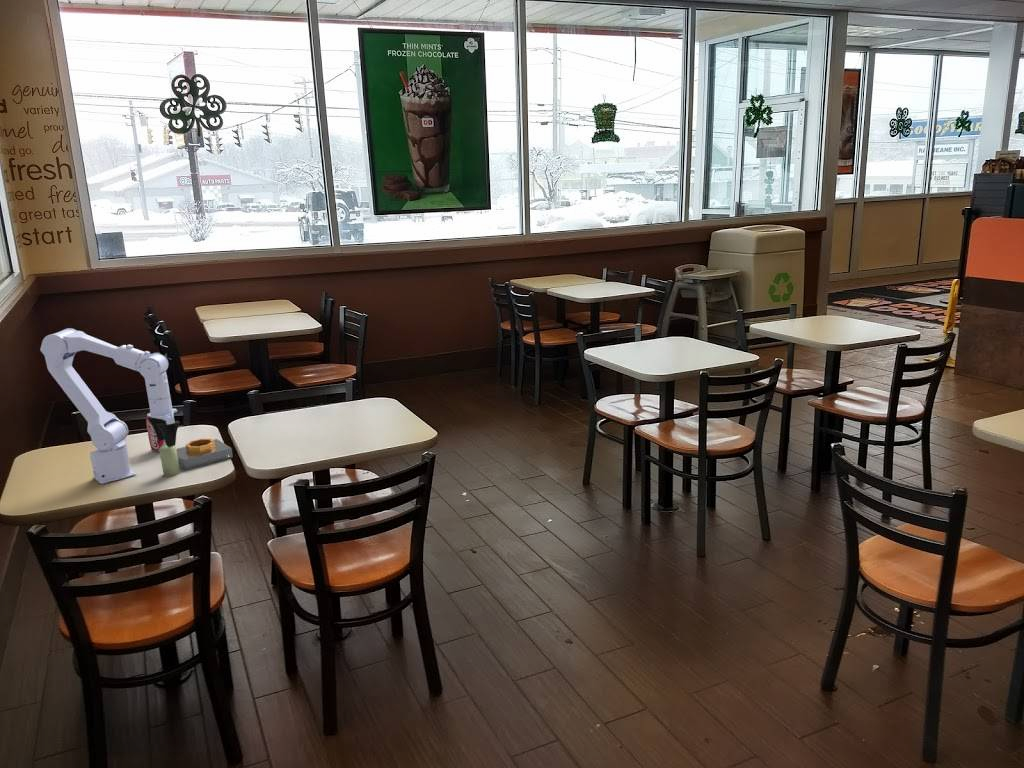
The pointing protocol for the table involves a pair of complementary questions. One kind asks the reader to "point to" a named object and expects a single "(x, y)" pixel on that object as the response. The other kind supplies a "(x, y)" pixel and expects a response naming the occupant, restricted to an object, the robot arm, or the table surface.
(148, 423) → the soda can
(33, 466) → the table surface
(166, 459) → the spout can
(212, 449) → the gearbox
